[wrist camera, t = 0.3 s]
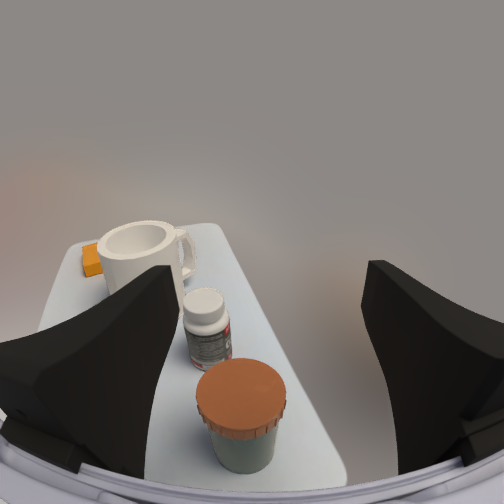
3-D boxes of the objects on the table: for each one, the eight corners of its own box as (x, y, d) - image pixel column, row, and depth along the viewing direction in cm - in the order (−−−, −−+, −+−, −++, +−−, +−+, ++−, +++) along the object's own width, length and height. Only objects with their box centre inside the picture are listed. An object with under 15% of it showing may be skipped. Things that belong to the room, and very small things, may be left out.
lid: (285, 441, 15) (288, 431, 15) (192, 436, 16) (188, 425, 15) (283, 372, 20) (285, 358, 20) (205, 369, 21) (202, 355, 20)
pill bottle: (237, 366, 31) (234, 310, 27) (195, 376, 30) (182, 320, 26) (226, 337, 35) (221, 281, 31) (187, 345, 34) (176, 289, 29)
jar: (273, 475, 20) (283, 430, 15) (212, 472, 20) (194, 426, 15) (274, 426, 24) (281, 364, 20) (218, 424, 25) (206, 362, 20)
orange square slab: (86, 277, 45) (79, 256, 43) (85, 256, 51) (79, 237, 49) (128, 265, 49) (123, 243, 47) (122, 246, 55) (118, 226, 53)
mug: (171, 267, 48) (162, 207, 43) (217, 290, 43) (212, 223, 38) (104, 308, 39) (83, 242, 34) (145, 343, 34) (123, 270, 28)
